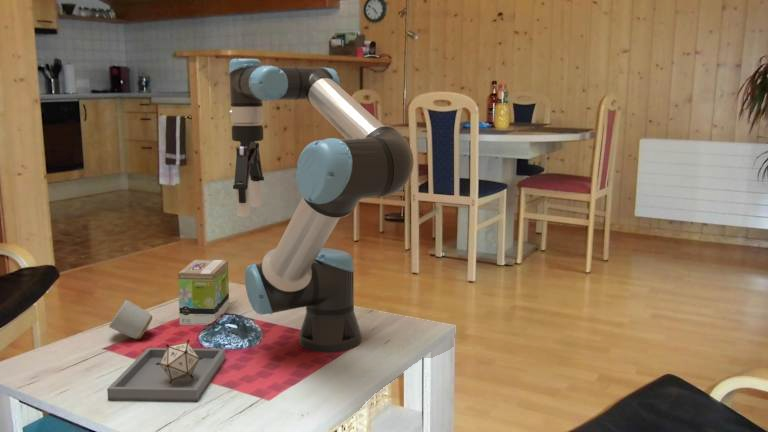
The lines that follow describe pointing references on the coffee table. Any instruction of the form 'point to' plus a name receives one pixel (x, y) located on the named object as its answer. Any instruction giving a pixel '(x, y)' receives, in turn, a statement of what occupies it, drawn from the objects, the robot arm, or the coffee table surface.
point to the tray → (164, 378)
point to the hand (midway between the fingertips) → (250, 211)
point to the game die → (179, 361)
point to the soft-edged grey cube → (131, 320)
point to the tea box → (203, 291)
